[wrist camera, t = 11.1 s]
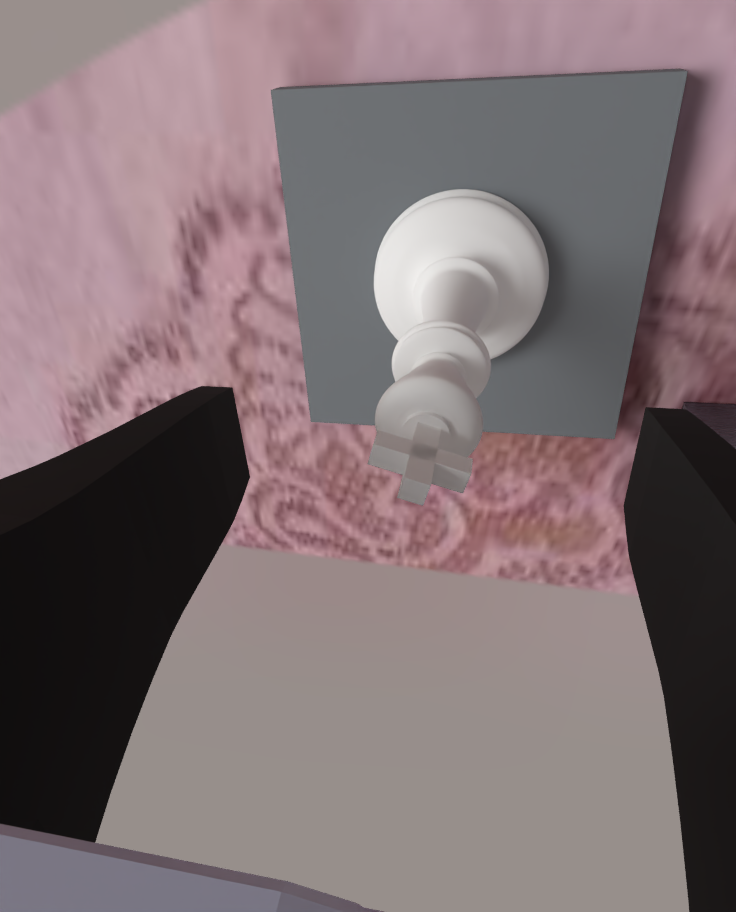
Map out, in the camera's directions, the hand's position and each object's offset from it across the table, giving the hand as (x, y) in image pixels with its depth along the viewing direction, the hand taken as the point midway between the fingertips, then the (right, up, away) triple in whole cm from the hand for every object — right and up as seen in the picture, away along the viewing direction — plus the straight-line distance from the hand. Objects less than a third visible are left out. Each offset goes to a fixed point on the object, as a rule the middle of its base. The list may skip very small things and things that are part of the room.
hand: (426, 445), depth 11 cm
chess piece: (+2, +5, +7) cm, 9 cm away
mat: (+2, +5, +8) cm, 9 cm away
